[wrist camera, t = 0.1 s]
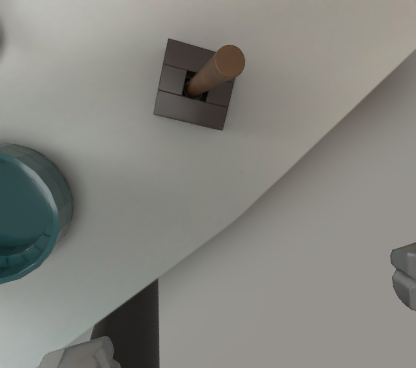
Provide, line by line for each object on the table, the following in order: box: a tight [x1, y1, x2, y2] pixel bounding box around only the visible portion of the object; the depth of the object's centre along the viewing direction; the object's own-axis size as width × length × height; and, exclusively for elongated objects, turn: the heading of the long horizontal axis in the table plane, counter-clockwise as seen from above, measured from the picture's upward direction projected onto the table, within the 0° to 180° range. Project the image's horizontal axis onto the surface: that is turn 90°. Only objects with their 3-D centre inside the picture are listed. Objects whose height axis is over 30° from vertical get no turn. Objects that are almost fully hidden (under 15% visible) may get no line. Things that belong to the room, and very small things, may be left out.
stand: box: [154, 39, 235, 130], centre depth 34 cm, size 8×8×5 cm
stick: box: [184, 45, 245, 98], centre depth 27 cm, size 2×2×20 cm
